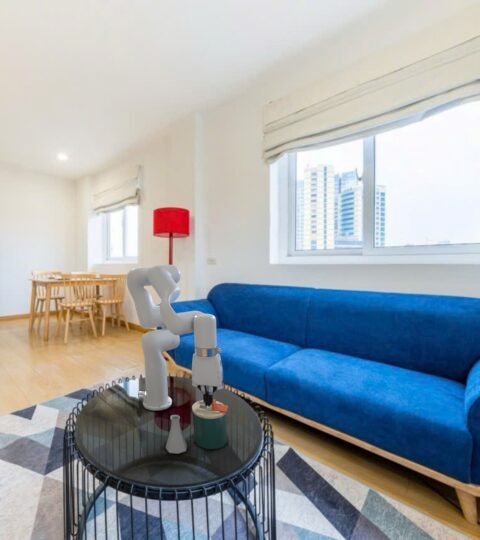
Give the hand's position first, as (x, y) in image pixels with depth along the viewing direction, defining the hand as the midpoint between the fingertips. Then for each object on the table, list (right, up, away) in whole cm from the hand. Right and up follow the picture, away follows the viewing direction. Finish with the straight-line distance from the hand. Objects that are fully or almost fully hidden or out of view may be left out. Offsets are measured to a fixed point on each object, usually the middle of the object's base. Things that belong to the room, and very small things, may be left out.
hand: (208, 404), depth 98 cm
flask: (-11, -13, -3) cm, 17 cm away
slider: (+4, -1, -1) cm, 4 cm away
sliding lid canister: (+1, -12, 0) cm, 12 cm away
